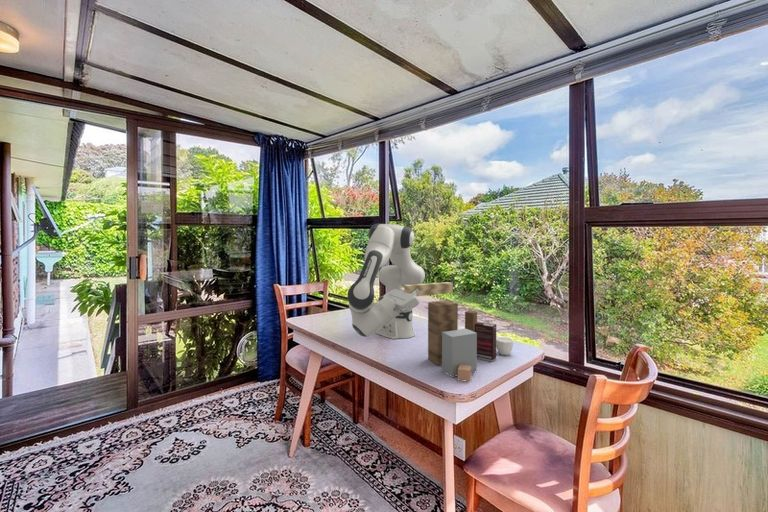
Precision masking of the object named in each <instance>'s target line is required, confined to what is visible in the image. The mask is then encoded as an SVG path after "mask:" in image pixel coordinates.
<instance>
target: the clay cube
mask: <svg viewBox="0 0 768 512" xmlns="http://www.w3.org/2000/svg"><path fill="white" fill-rule="evenodd" d="M458 379H459V380H458ZM471 379H472V373H471V366H466V365H459V367H458V376H457V380H458V381H460V380H466V381H465V382H467V381H470V382H471Z"/></svg>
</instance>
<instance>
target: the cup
mask: <svg viewBox="0 0 768 512" xmlns="http://www.w3.org/2000/svg"><path fill="white" fill-rule="evenodd" d="M513 347H514V340H513V339H512V338H510V337H505V336H499V337H496V351H497V352H498V354H500V355H501V356H508V355H510V354H511V352H512V350H513Z"/></svg>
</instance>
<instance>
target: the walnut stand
mask: <svg viewBox="0 0 768 512" xmlns="http://www.w3.org/2000/svg"><path fill="white" fill-rule="evenodd" d="M427 307H428V308H427V311H428V312H427V352H428V353H427V359H428V361H429V362H431V363H433V364H434V365H436V366H437V365H438V367H439V366H442V332H446V331H453V330H459V329H458V326H459V325H458V324H459V323H458V322H459V321H458V318H459V317H458V316H459V313H458V310H459V304H458V303H456V302H454V301H451V300H446V299H445V300H435V301H428V303H427Z"/></svg>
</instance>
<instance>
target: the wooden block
mask: <svg viewBox="0 0 768 512" xmlns="http://www.w3.org/2000/svg"><path fill="white" fill-rule="evenodd" d="M477 322H478V311H477V310H466V311H465V312H464V329H468V330H471V331H473V332H475V323H477Z"/></svg>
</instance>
